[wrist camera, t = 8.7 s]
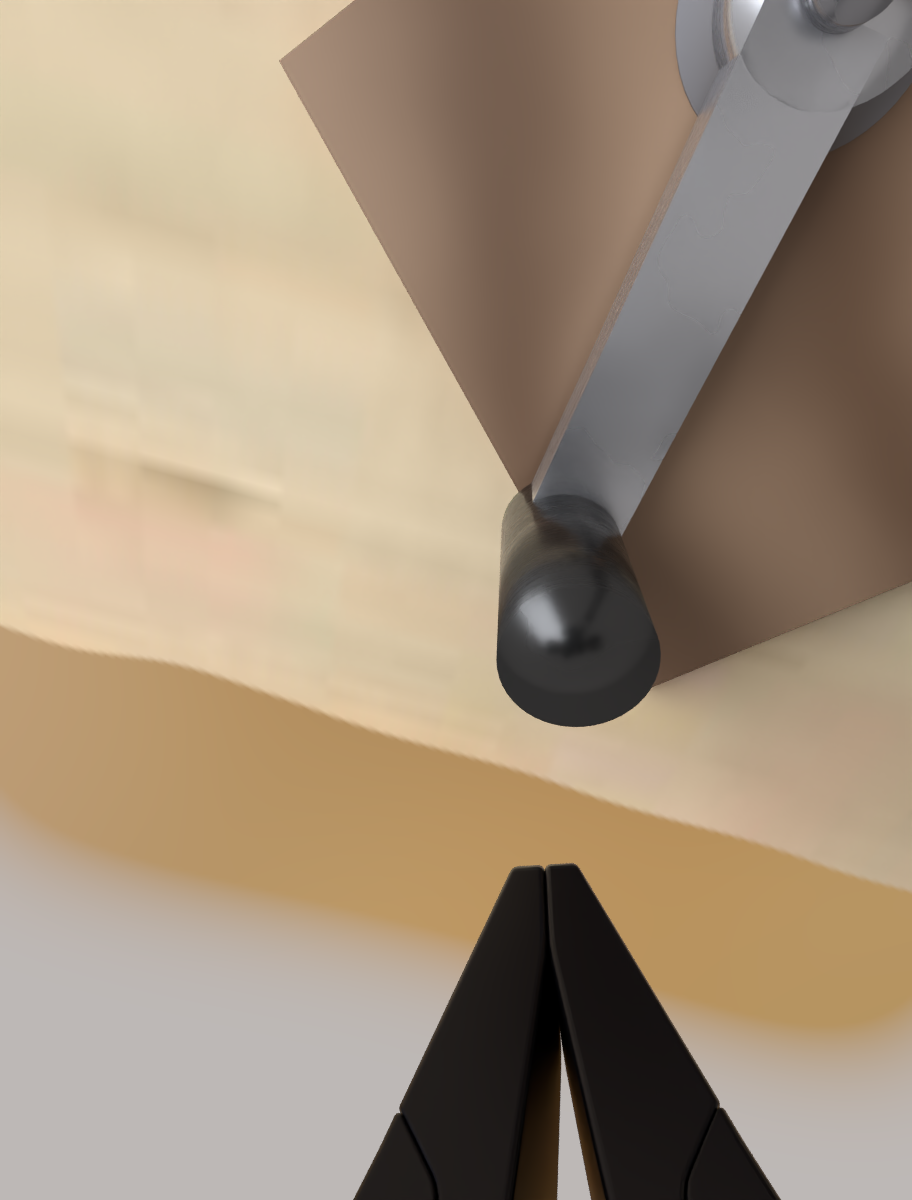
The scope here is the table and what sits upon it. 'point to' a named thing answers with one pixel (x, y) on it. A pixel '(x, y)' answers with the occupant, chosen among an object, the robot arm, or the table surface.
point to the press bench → (599, 265)
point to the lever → (674, 342)
